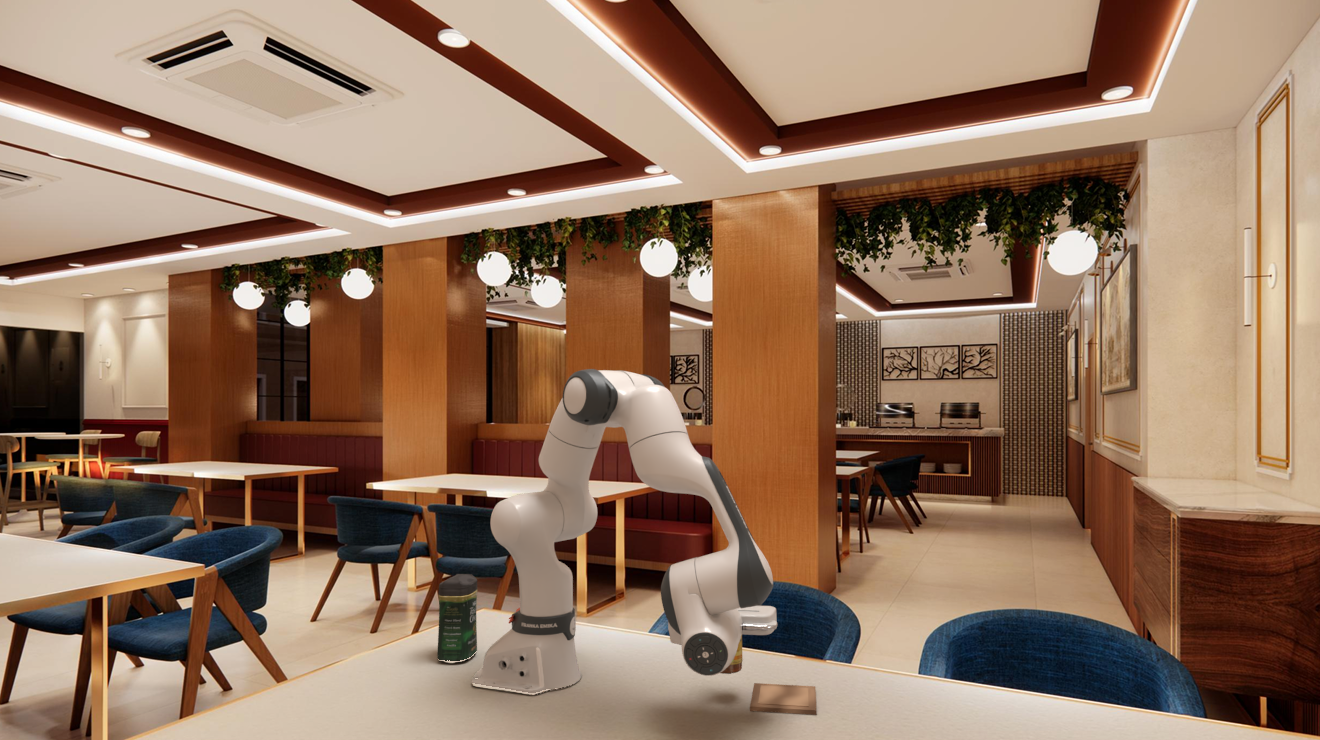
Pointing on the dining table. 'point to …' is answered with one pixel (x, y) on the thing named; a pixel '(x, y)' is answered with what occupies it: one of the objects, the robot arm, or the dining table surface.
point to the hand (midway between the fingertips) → (725, 607)
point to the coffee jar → (457, 618)
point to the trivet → (783, 699)
